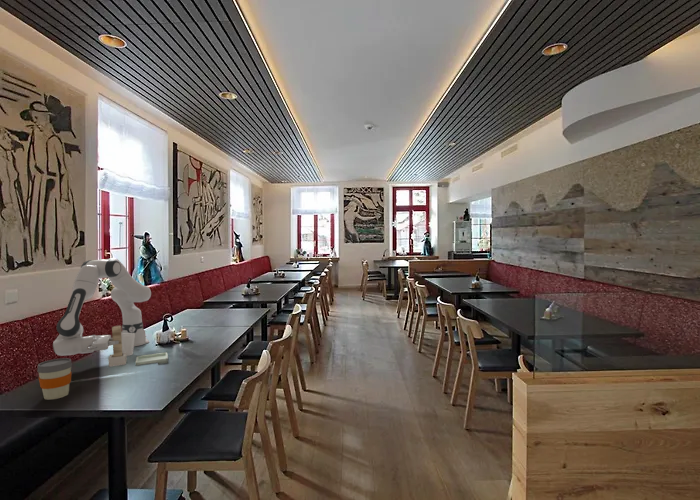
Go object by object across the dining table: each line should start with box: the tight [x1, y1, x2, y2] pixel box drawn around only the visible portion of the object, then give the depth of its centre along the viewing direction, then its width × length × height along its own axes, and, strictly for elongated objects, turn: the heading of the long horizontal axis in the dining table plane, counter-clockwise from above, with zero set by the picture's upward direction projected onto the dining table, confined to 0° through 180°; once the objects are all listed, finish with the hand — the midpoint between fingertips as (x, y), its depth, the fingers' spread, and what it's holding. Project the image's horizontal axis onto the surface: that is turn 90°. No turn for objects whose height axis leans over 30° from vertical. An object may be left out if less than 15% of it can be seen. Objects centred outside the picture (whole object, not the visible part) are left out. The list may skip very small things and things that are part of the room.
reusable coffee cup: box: [36, 357, 73, 400], centre depth 185 cm, size 13×13×15 cm
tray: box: [135, 351, 169, 366], centre depth 234 cm, size 14×16×2 cm
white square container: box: [107, 353, 128, 367], centre depth 229 cm, size 8×8×6 cm
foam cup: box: [122, 333, 135, 357], centre depth 246 cm, size 10×9×13 cm
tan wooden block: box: [111, 325, 123, 357], centre depth 229 cm, size 4×4×18 cm
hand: (119, 340), depth 229 cm, fingers closed on tan wooden block, 4 cm apart
